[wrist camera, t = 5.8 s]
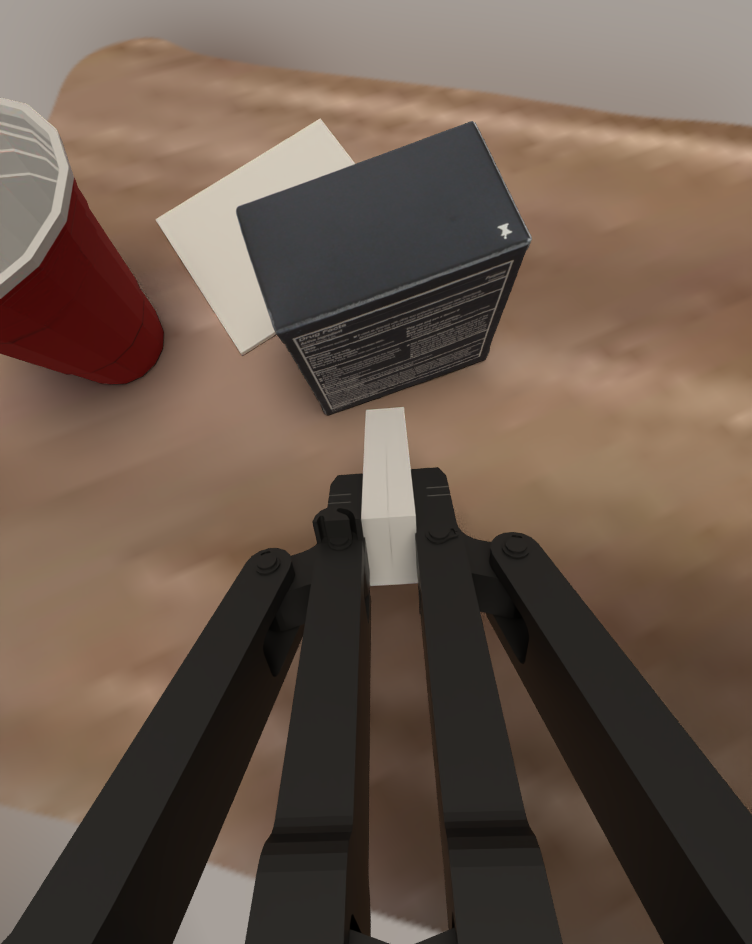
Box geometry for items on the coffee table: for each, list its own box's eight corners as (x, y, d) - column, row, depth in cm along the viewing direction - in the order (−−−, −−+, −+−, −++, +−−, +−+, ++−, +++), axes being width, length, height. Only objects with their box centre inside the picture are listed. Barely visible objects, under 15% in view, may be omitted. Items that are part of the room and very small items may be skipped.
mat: (415, 245, 28) (416, 242, 28) (242, 355, 28) (240, 353, 28) (321, 122, 30) (320, 118, 30) (157, 222, 30) (155, 219, 30)
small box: (451, 269, 28) (478, 106, 18) (490, 360, 27) (543, 243, 17) (292, 325, 28) (227, 196, 18) (324, 419, 27) (275, 339, 17)
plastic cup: (190, 245, 29) (47, 43, 18) (216, 398, 28) (75, 284, 16) (33, 285, 30) (-213, 111, 18) (47, 439, 28) (-216, 357, 16)
